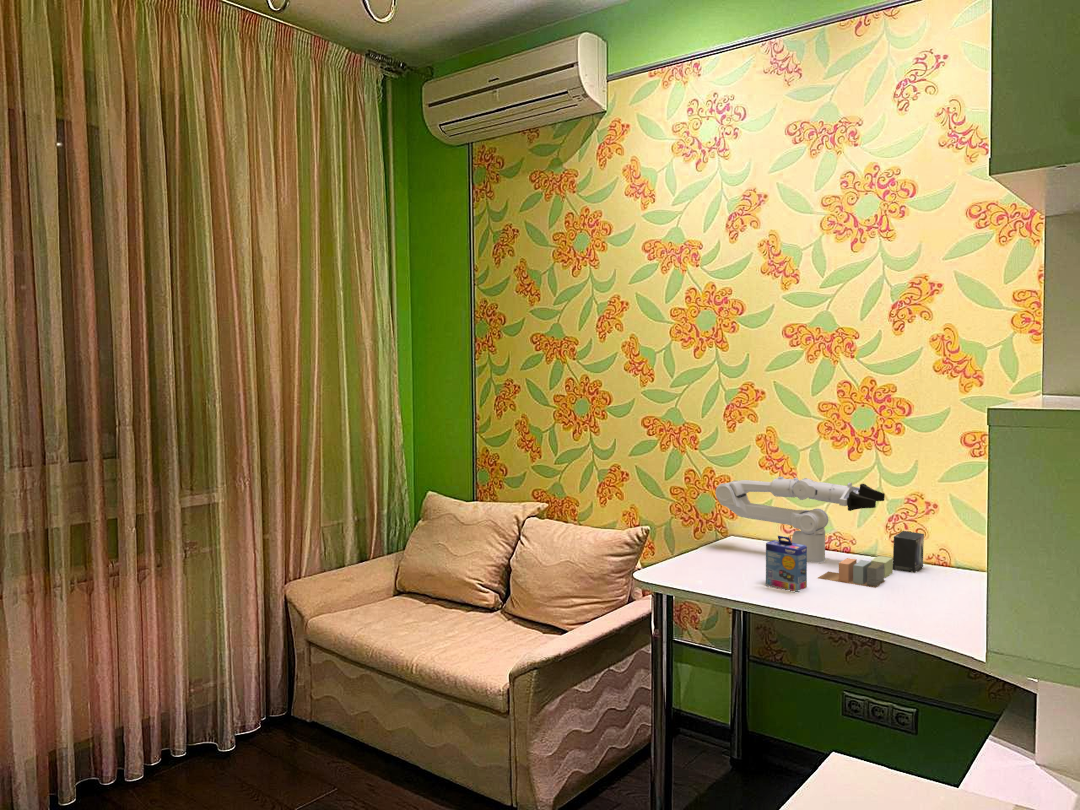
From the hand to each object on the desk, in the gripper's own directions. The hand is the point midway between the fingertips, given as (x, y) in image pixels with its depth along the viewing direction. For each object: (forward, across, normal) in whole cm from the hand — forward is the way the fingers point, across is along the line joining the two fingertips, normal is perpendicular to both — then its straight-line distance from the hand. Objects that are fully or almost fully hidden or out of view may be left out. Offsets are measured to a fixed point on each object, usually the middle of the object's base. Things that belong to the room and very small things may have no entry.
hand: (879, 500), depth 241 cm
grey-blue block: (+2, -18, +18) cm, 26 cm away
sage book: (+3, -7, +20) cm, 22 cm away
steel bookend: (+5, -18, +18) cm, 26 cm away
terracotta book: (-2, -18, +18) cm, 26 cm away
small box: (+7, +5, +22) cm, 23 cm away
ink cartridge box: (-13, -35, +18) cm, 42 cm away
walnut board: (-1, -18, +19) cm, 26 cm away
